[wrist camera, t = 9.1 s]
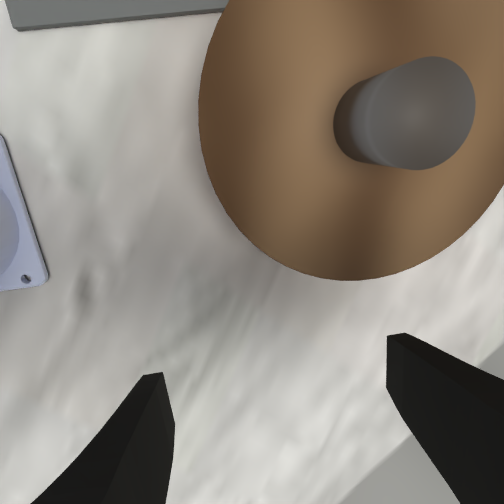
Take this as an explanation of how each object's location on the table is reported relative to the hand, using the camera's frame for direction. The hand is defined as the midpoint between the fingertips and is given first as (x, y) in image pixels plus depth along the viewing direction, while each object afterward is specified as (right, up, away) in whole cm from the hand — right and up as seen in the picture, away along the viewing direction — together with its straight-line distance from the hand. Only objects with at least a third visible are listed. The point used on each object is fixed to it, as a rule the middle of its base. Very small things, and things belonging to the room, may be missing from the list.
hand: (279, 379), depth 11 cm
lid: (+4, +9, +3) cm, 10 cm away
